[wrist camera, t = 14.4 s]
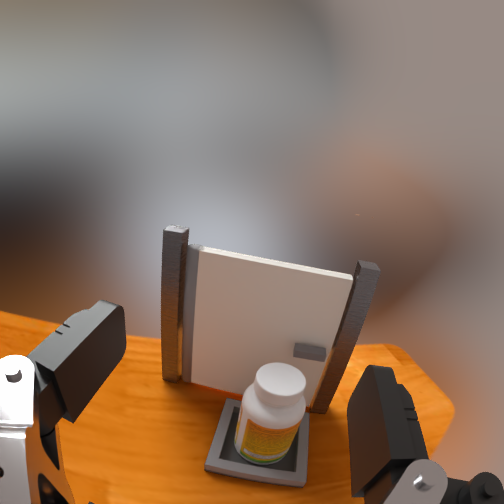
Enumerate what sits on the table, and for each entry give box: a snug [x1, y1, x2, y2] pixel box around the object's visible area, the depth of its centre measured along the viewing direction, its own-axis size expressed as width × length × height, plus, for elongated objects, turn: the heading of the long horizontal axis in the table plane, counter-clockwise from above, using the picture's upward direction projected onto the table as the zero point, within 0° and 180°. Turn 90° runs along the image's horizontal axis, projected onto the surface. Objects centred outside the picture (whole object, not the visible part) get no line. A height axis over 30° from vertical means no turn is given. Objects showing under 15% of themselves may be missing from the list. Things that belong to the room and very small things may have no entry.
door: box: [182, 244, 353, 407], centre depth 29 cm, size 15×3×16 cm, turn 81°
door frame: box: [161, 225, 381, 414], centre depth 29 cm, size 19×2×18 cm, turn 81°
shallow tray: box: [204, 398, 309, 488], centre depth 25 cm, size 9×9×1 cm
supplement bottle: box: [234, 363, 306, 465], centre depth 24 cm, size 5×5×10 cm
